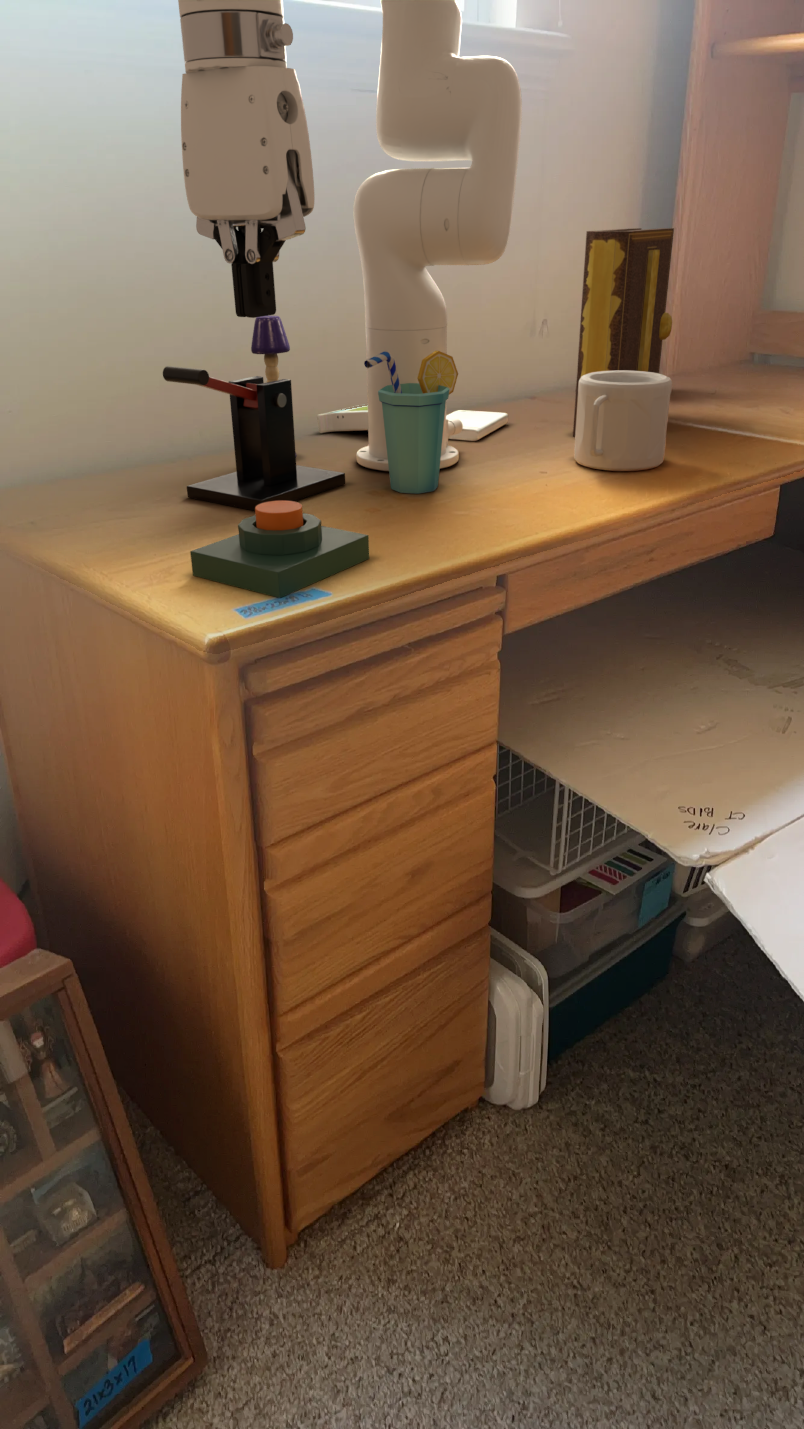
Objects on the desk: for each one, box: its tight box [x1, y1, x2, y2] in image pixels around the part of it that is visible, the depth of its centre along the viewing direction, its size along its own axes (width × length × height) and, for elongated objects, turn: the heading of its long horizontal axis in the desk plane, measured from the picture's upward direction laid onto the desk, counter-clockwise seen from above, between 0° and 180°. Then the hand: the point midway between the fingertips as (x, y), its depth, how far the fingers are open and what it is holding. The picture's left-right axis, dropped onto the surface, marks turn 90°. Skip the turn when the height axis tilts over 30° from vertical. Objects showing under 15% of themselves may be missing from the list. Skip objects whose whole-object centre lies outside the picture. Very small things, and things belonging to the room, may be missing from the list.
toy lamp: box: [250, 315, 297, 458], centre depth 120 cm, size 5×5×17 cm
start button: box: [254, 501, 304, 530], centre depth 84 cm, size 4×4×2 cm
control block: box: [189, 512, 370, 599], centre depth 85 cm, size 12×10×4 cm
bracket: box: [186, 375, 346, 512], centre depth 107 cm, size 14×11×12 cm
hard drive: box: [446, 409, 509, 442], centre depth 138 cm, size 2×8×12 cm
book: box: [572, 227, 675, 437], centre depth 135 cm, size 22×8×25 cm, turn 151°
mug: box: [573, 370, 673, 472], centre depth 116 cm, size 14×11×10 cm
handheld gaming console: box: [316, 405, 368, 434], centre depth 137 cm, size 11×3×15 cm
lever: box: [162, 365, 258, 410], centre depth 101 cm, size 13×5×2 cm, turn 145°
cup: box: [363, 351, 459, 495], centre depth 106 cm, size 14×8×15 cm, turn 143°
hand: (256, 315), depth 81 cm, fingers closed
